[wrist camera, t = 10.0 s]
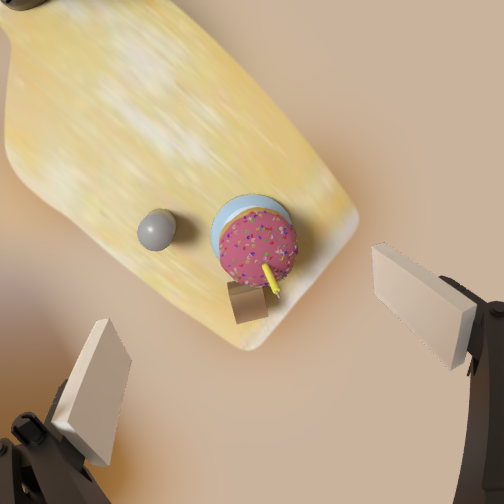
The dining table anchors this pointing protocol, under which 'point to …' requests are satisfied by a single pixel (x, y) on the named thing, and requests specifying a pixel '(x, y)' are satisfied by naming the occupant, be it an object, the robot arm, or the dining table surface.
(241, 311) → the walnut block
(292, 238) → the cupcake
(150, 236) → the grey cylinder
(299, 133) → the dining table surface
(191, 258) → the dining table surface
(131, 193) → the dining table surface
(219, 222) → the saucer
